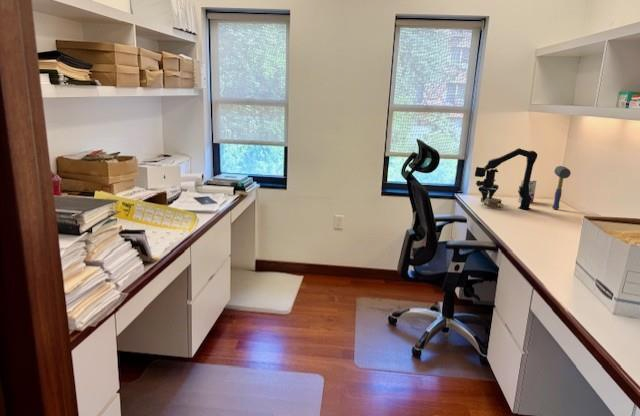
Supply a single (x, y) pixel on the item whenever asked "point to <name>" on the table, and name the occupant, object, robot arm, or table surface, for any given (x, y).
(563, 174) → the rubber mallet
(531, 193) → the candy bar box
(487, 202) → the brass rod
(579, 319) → the table surface
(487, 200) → the block
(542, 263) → the table surface
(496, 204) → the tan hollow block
